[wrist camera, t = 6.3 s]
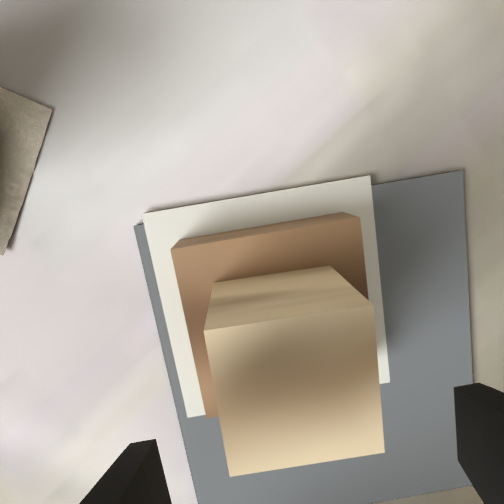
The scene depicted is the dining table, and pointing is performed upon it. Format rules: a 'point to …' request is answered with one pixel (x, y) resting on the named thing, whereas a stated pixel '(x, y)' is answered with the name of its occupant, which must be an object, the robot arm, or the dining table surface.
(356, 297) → the maple cube
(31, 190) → the dining table surface
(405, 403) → the mat
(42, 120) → the condiment
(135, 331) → the dining table surface
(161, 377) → the dining table surface
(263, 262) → the walnut base
